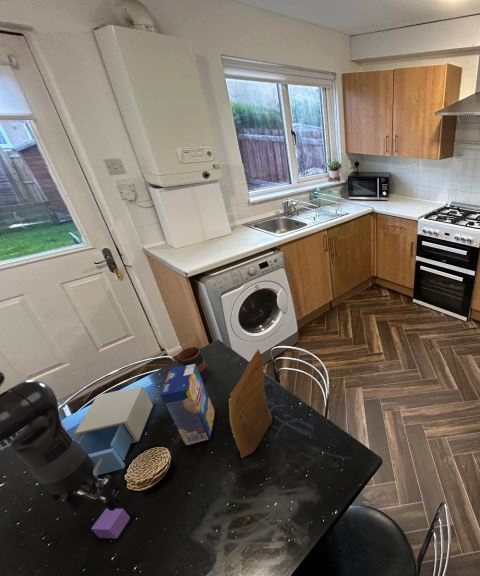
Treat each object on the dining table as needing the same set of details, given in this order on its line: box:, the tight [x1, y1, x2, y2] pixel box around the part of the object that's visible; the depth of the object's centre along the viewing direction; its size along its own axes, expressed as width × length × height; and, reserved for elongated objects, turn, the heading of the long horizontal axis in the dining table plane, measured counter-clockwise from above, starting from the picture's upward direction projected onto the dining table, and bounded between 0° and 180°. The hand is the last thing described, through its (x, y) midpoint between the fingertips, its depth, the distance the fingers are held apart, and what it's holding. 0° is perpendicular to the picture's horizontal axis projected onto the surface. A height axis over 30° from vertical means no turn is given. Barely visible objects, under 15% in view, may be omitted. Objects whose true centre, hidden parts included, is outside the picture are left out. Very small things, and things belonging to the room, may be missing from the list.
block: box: [90, 507, 131, 539], centre depth 75 cm, size 4×4×4 cm
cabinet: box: [74, 385, 154, 444], centre depth 98 cm, size 15×13×10 cm
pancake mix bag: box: [228, 348, 273, 459], centre depth 92 cm, size 7×19×28 cm, turn 169°
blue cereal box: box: [159, 363, 216, 446], centre depth 95 cm, size 7×11×22 cm, turn 19°
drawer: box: [77, 424, 133, 477], centre depth 88 cm, size 18×11×8 cm, turn 18°
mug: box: [174, 346, 210, 382], centre depth 116 cm, size 9×12×12 cm
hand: (97, 505), depth 72 cm, fingers open, 8 cm apart
